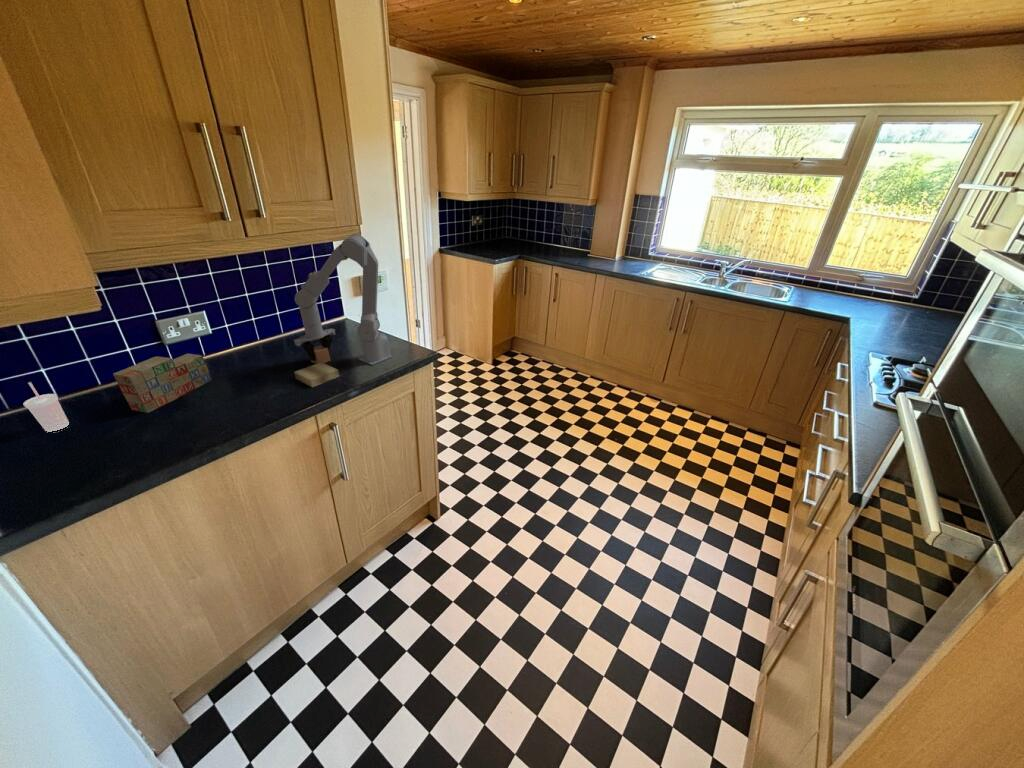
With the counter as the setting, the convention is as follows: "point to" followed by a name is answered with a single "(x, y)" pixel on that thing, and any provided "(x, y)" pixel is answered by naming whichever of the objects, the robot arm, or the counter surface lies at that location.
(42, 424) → the beverage cup
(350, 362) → the counter surface
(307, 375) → the oak block
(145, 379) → the stack of blocks
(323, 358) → the brown cube
